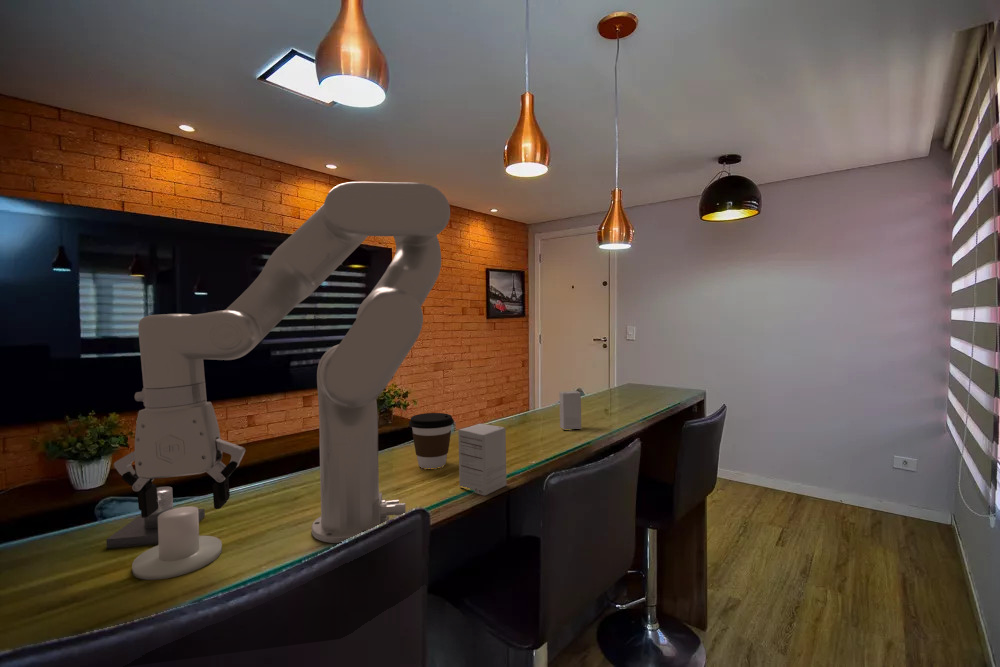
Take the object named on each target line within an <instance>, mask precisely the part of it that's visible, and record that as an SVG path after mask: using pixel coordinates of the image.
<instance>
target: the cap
mask: <svg viewBox="0 0 1000 667" xmlns="http://www.w3.org/2000/svg"><path fill="white" fill-rule="evenodd" d="M198 509H199V508H198V507H197V506H192V505H191V506H181V507H175V508H173V509H171V510H168V511H165V512H163V513H161V514H160V515H159V516H158V544H157V545H158V546H159V559H160V560H161V561H175V560H180V559H183V558H186V557H189V556H191V555H193V554H195V553H196V552H197V551H198V550H199V536H200V525H199V523H200V522H199V515H198Z"/></svg>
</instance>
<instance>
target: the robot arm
mask: <svg viewBox="0 0 1000 667" xmlns="http://www.w3.org/2000/svg"><path fill="white" fill-rule="evenodd" d="M450 219H451V207H450V203H449V200H448V199H447V197H446V195H445V194H444V193H443V192H442V191H441V190H439V188H437V187H434V186H432V185H431V184H426V183H421V182H386V181H385V182H384V181H349V182H343V183H340V184H337V185H336V186H334V187H333V188H332V189H330V190H329V191H328V193H327V195H326V197H325V200H324V203H323V204H322V205H321V206H320V207H319V208H318V209H317V210H316V211H315V212H314V213H313V214H312V215H311V216H310V217H308V219H307V220H305V221H304V223H302V225H300V227H298V228H297V229H296V230H295V231H294V232H293V233H292V234H291V235H290V236H289V237H288V238H286V239H285V240H284V241H283V242H282V243H281V244H280V245H279V246H278V247H276V248H275V250H273V252H272V253H271V255H270V256H269V257H268V259H267V261H266V262H265V265H264V267H263V268H262V271H261V272H260V273H259V274H258V276H257V277H256V278H255V280H254V281H253V282H252V283H251V284H250V285H249V286H248V287H247V289H245V290H244V291H243V292H242V293H241V294H240V296H238V297H237V298H236V299H235V300H234V301H233V302H232V303H231V304H229V306H227V307H226V309H224V310H216V311H210V312H204V313H197V314H190V313H167V314H165V313H163V314H152V315H146V316H144V317H142V318H141V319H140V320H139V322H138V327H137V328H138V329H137V330H138V341H139V342H138V343H139V351H140V352H139V353H140V362H141V363H140V364H141V373H142V386H143V387H142V390H141V391H136V392H135V394H134V400H135V402H143V406H144V408H143V409H140V410H138V412H137V418H136V424H135V435H134V436H135V437H134V450H133V451H131V452H129V454H127V455H125V456H123V457H121V458H119V459H118V460H116V461H114V463H113V467H114V468H115V470H116V471H117V472H118V474H119V475H121V479H122V480H123V481H124V482H125V483H127V484H128V485H129V486H131V487H132V491H134V492H136V493H137V504H138V509H139V511H140V515H141V516H142V518H146V517H148V516H149V515H151V514H152V513H153V512H155V511H156V510H157V509H158V497H157V488H158V486H157V485H156V483H153V481H154V480H155V479H164V478H165V479H166V478H175V477H184V476H192V475H193V476H194V475H201V474H204V473H207V474H208V475H209V476H210V477H211V478H212V479H214V481H215V482H213V483H212V487H211V488H212V497H213V498H212V500H213V509H215V510H219V509H221V508H222V507H223V506H225V505H226V503H227V502H228V500H230V498H231V497H230V496H231V493H230V483H229V477H230V476H231V475H232V474H233V473H234V471H235V470H237V468H238V467H239V466H240V464H241V461H242V459H243V457H244V455H245V452H246V448H245V447H243V446H240V445H238V444H235V443H232V442H229V441H227V440H224V439H221V431H220V428H219V423H218V418H217V415H216V412H215V409H214V406H213V404H212V402H211V401H207V400H208V399H207V388H206V377H205V366H204V365H205V364H204V363H205V362H204V360H213V361H214V360H217V361H223V360H224V361H232V360H237V359H240V358H242V357H244V356H246V355H247V354H249V353H250V352H251V351H253V349H255V347H256V346H257V345H258V344H259V343H260V342H261V341H263V340H264V338H265V337H266V336H267V335H268V334H269V333H270V332H271V331H273V329H274V328H275V327H276V326H277V325H278V324H279V323H280V322H282V320H283V319H284V318H285V317H286V316H287V315H288V314H289V313H290V312H291V311H293V309H294V308H296V307H297V305H299V304H300V303H301V302H303V301H304V300H306V299H307V298H309V296H311V294H313V293H314V292H315V291H316V290H317V289H318V288H319V286H320V285H322V284H323V283H324V282H325V280H326V279H328V278H329V277H330V276H331V275H332V274H333V272H334V271H335V270H336V269H337V268H339V266H340V265H342V263H343V262H345V261H346V259H347V258H348V257H350V255H351V254H352V253H354V252H355V251H356V249H357V248H358V247H359V246H360V245H361V244H362V243H364V242H365V241H366V239H367V238H368V237H393V239H394V242H395V254H394V257H393V259H392V260H391V262H390V264H389V265H388V266H387V268H386V270H385V272H384V273H383V275H382V276H381V278H380V279H379V280H378V282H377V283H376V285H374V287H373V289H372V290H371V292H370V293H368V295H367V296H366V298H365V299H363V301H362V302H361V304H360V305H359V308H358V309H357V312H356V317H355V318H356V319H355V321H354V322H353V324H352V325H351V327H350V328H349V330H348V331H347V333H346V334H345V336H344V337H343V338H342V340H341V341H340V342H339V344H336V345H333V346H332V347H330V348H329V349H327V350H326V351H325V353H324V354H323V355H322V356H321V358H320V360H319V362H318V365H317V370H316V385H317V388H316V389H317V399H318V419H319V420H318V423H319V425H318V426H319V474H320V478H319V481H320V512H321V513H320V516H319V517H317V518H316V519H315V520H314V521H313V523H312V524H311V535H312V536H313V537H314V539H317V540H318V541H320V542H323V543H328V544H340V543H339V542H341V541H344V540H346V539H348V538H350V537H353V536H355V535H357V534H359V533H361V532H364V531H366V530H368V529H371V528H373V527H375V526H377V525H379V524H381V523H383V522H385V521H387V520H389V518H390V516H402V515H401V514H403V513H405V512H406V511H407V510H406V502H401V503H400V500H399V499H391V500H386V499H383V492H380V486H379V485H380V481H379V480H380V478H379V475H380V474H379V419H378V418H379V416H378V414H379V413H378V405H377V398H378V397H379V396H380V395H381V394H382V392H383V391H384V390H385V389H386V387H387V386H388V384H389V383H390V381H391V380H392V379H393V377H394V376H395V374H396V373H397V371H398V369H399V368H400V367H401V365H402V363H403V362H404V361H405V359H406V357H407V356H408V354H409V353H410V351H411V349H413V346H415V343H416V341H417V340H418V338H419V337H420V334H421V332H422V331H421V330H422V328H423V325H424V324H423V323H424V315H423V309H422V305H423V304H424V303H425V301H426V300H427V297H428V296H429V294H430V292H431V291H432V289H433V287H434V286H435V284H436V282H437V280H438V277H439V275H440V273H441V272H440V271H441V268H442V251H441V244H440V241H439V238H438V235H439V234H441V233H442V231H444V230H445V228H446V227H447V225H448V224H449V221H450ZM223 453H225V454H228V455H230V457H231V458H230V461H229V462H228V464H227V465H226V464H225V463H224V462H222V459H223ZM132 463H134V466H135V469H134V467H133V465H132Z"/></svg>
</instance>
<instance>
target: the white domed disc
mask: <svg viewBox="0 0 1000 667" xmlns="http://www.w3.org/2000/svg"><path fill="white" fill-rule="evenodd" d="M222 543H223V542H222V540H221V539H220V538H219V537H216V536H213V535H212V536H211V535H199V550H198V551H197V552H196V553H195V554H193V555H191V556H189V557H186V558H183V559H180V560H175V561H161V560H160V559H159V546H158V544H156V545H154V546H153V547H151V548H148V549H146V551H143V552H142V553H140V554H139V555H138V556H136V557H135V558H134V560H133V561H132V566H131V570H132V575H133V576H134V577H135V578H137V579H140V580H145V581H146V580H147V581H154V580H156V581H157V580H165V579H170V578H176V577H180V576H182V575H186V574H189V573H191V572H195V571H198V570H199V569H201V568H204V567H206V566H208V565H210V563H212V562H214V561H215V560H216V559H217V558H218V557H220V555H221V553H222V551H223V544H222Z"/></svg>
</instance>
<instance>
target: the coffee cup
mask: <svg viewBox="0 0 1000 667" xmlns="http://www.w3.org/2000/svg"><path fill="white" fill-rule="evenodd" d="M454 424H455V420H454V418H453V416H452V415H451V414H449V413H443V412H426V413H419V414H415V415H413V416H411V417H410V420H409V421H408V426H409V427H411V428H412V432H411V433H412V438H413V439H412V440H413V444H414V450H415V455H416V458H417V462H418V463H417V464H418V466H419V467H421V468H420V469H422V468H427V469H428V468H430V469H431V468H438V467H442V466H443V465H446V463H447V460H448V459H447V457H448V453H449V448H450V442H451V436H452V425H454ZM442 468H443V467H442Z"/></svg>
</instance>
